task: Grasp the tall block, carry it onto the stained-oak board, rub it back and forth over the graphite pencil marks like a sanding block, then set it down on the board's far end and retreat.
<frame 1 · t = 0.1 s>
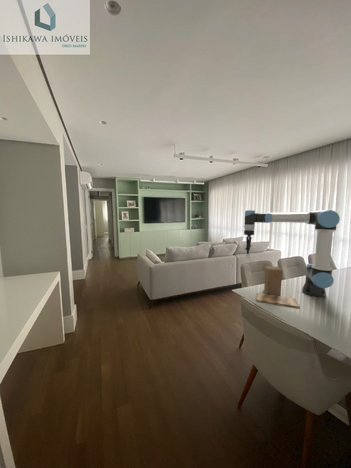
hand: (248, 256, 155), 28 cm above the table, fingers open, 13 cm apart
block: (272, 292, 153), on the table
board: (276, 300, 138), on the table
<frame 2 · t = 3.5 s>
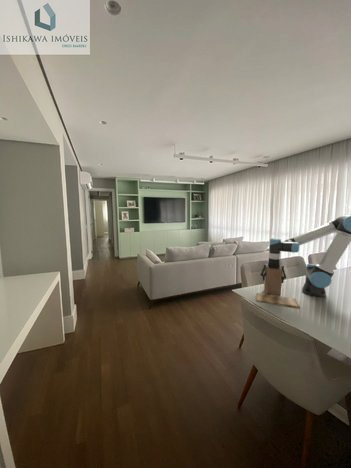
hand: (272, 285, 152), 5 cm above the table, fingers closed on block, 11 cm apart
block: (272, 292, 153), on the table, touching gripper
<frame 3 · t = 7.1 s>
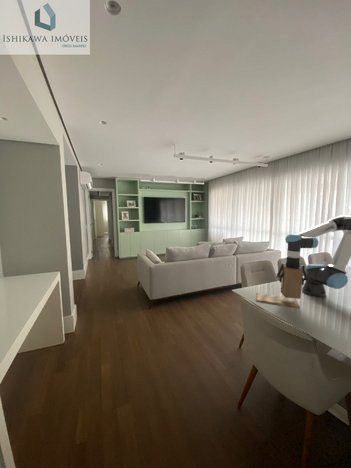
hand: (290, 288, 133), 11 cm above the table, fingers closed on block, 11 cm apart
block: (290, 295, 134), point 5 cm above the table, touching gripper
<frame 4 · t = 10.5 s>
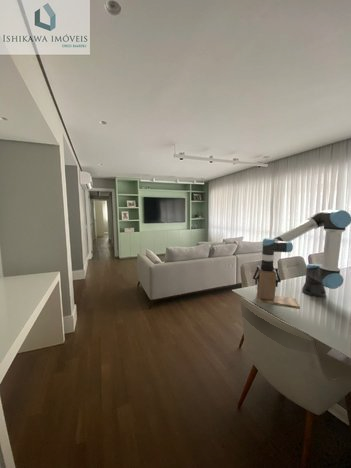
hand: (265, 289, 140), 7 cm above the table, fingers closed on block, 11 cm apart
block: (265, 297, 140), point 1 cm above the table, touching gripper
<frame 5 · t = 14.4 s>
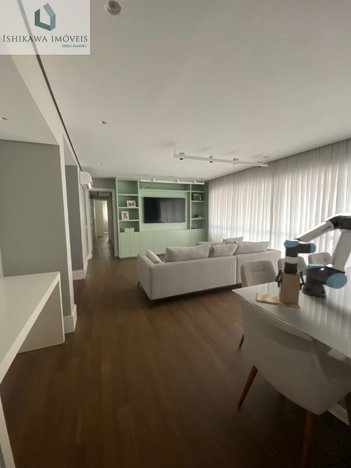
hand: (288, 293, 134), 7 cm above the table, fingers closed on block, 10 cm apart
block: (288, 301, 135), point 1 cm above the table, touching board, gripper
when the fingers open (7 cm above the table, at t = 17.7 s): block stays where it is, resting on board.
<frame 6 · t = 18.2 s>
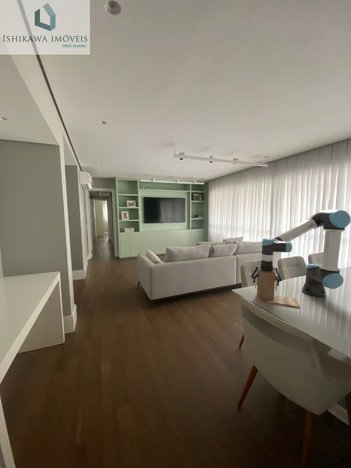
hand: (265, 288, 140), 8 cm above the table, fingers open, 13 cm apart
block: (265, 297, 141), point 1 cm above the table, touching board
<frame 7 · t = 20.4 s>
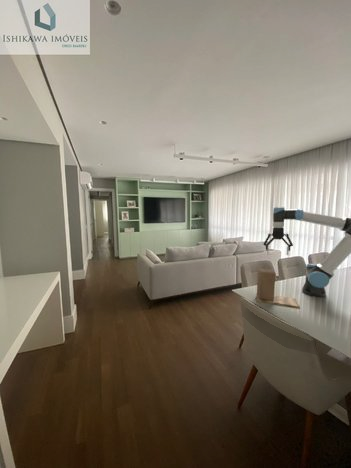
hand: (277, 254, 150), 30 cm above the table, fingers open, 13 cm apart
nothing on the table moved.
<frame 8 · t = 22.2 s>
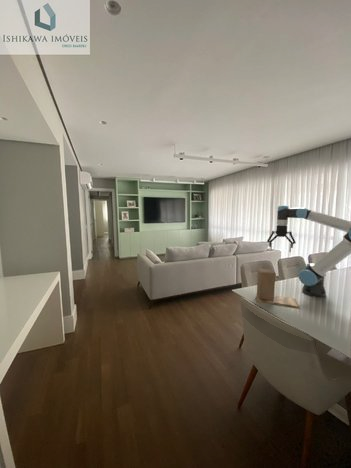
hand: (280, 251, 156), 32 cm above the table, fingers open, 13 cm apart
nothing on the table moved.
at the end: block inside the target area on the board (0.4 cm from its centre), point 1.0 cm above the board's base; block tilted 0°; the gripper is holding nothing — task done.
